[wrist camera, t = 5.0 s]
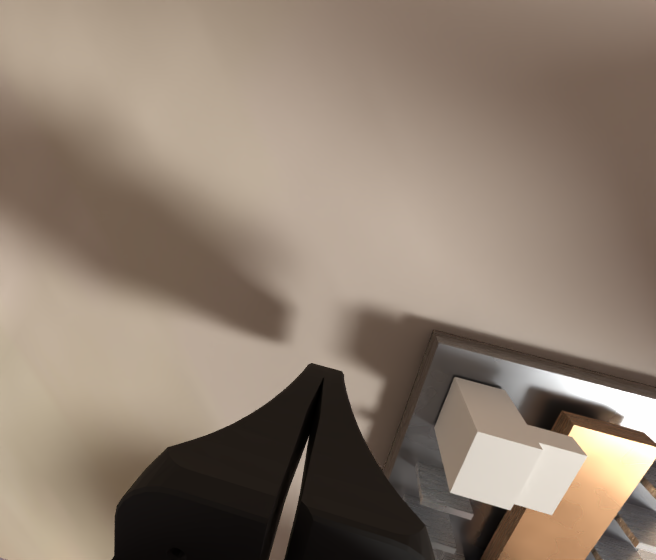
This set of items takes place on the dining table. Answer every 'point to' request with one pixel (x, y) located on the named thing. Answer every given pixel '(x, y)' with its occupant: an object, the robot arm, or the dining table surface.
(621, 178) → the dining table surface
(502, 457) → the white stepped block
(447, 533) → the heatsink
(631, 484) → the brown flat bar
